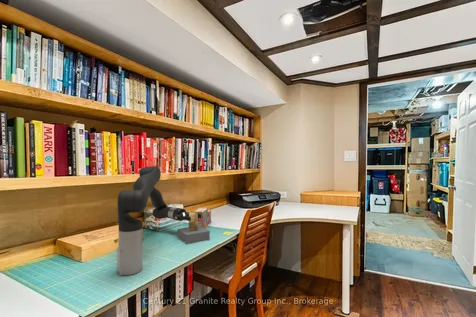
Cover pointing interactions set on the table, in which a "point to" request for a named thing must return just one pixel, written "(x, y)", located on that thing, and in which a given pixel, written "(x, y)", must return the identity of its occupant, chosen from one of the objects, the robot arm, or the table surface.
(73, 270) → the table surface
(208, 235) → the plinth
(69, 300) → the table surface
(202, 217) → the printed cardboard box
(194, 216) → the cylinder
